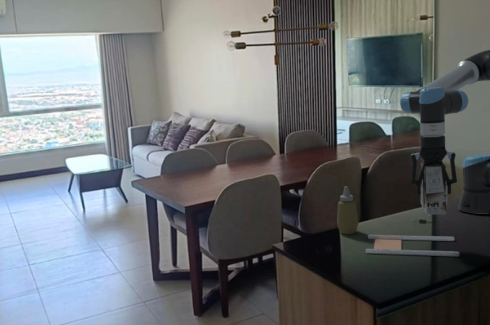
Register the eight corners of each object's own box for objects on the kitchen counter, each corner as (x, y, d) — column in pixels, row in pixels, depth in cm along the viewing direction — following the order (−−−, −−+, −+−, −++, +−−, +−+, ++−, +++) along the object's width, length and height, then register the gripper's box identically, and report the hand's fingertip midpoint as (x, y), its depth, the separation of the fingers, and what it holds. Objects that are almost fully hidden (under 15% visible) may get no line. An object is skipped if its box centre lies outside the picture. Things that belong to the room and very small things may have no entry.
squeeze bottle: (339, 228, 196) (337, 184, 193) (360, 229, 193) (358, 184, 190) (335, 235, 188) (333, 188, 185) (357, 236, 186) (355, 189, 183)
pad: (401, 241, 177) (401, 239, 177) (401, 251, 167) (401, 250, 166) (375, 240, 180) (375, 239, 180) (373, 250, 169) (373, 249, 169)
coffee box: (447, 214, 162) (446, 165, 159) (426, 215, 163) (424, 166, 160) (442, 207, 170) (441, 160, 168) (422, 207, 172) (421, 161, 169)
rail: (453, 239, 174) (453, 236, 174) (459, 256, 159) (458, 252, 159) (368, 237, 183) (368, 234, 183) (365, 253, 168) (365, 249, 167)
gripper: (401, 138, 162) (403, 206, 166) (466, 135, 156) (467, 206, 160) (401, 135, 169) (403, 200, 173) (464, 132, 163) (464, 200, 167)
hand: (434, 203), depth 166 cm, fingers closed on coffee box, 7 cm apart
